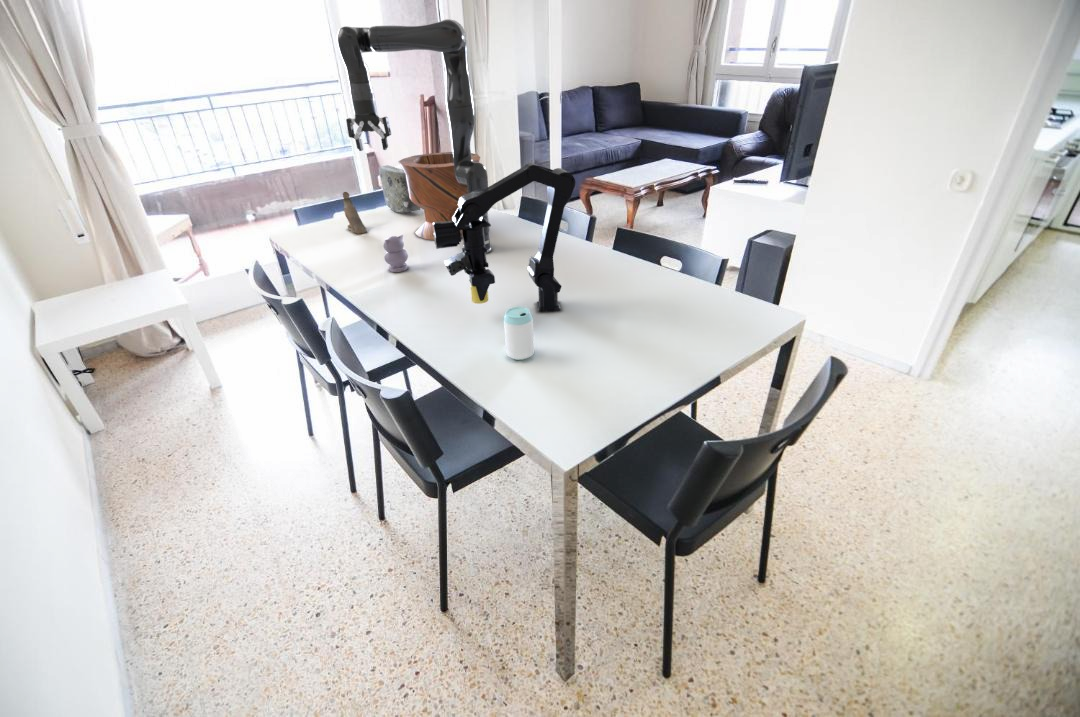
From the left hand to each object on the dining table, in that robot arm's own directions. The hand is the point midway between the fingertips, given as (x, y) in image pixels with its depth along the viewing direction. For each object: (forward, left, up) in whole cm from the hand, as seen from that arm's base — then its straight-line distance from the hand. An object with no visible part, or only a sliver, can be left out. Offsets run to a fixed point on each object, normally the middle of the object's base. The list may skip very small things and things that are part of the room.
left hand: (373, 150), depth 174 cm
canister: (+56, +42, -33) cm, 77 cm away
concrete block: (-64, -14, -38) cm, 76 cm away
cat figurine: (+16, +6, -38) cm, 42 cm away
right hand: (+56, +42, -32) cm, 77 cm away
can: (+78, +54, -38) cm, 102 cm away
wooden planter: (-31, +16, -38) cm, 52 cm away
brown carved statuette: (-33, -26, -38) cm, 57 cm away
